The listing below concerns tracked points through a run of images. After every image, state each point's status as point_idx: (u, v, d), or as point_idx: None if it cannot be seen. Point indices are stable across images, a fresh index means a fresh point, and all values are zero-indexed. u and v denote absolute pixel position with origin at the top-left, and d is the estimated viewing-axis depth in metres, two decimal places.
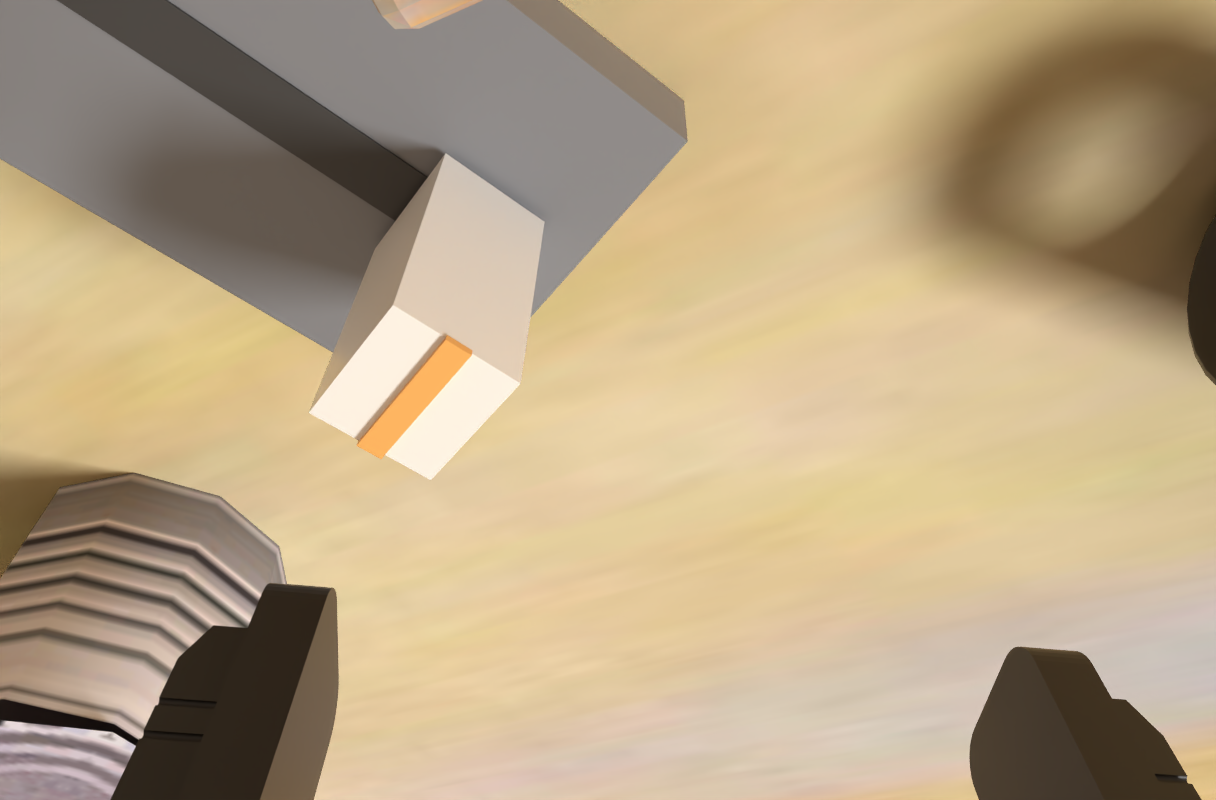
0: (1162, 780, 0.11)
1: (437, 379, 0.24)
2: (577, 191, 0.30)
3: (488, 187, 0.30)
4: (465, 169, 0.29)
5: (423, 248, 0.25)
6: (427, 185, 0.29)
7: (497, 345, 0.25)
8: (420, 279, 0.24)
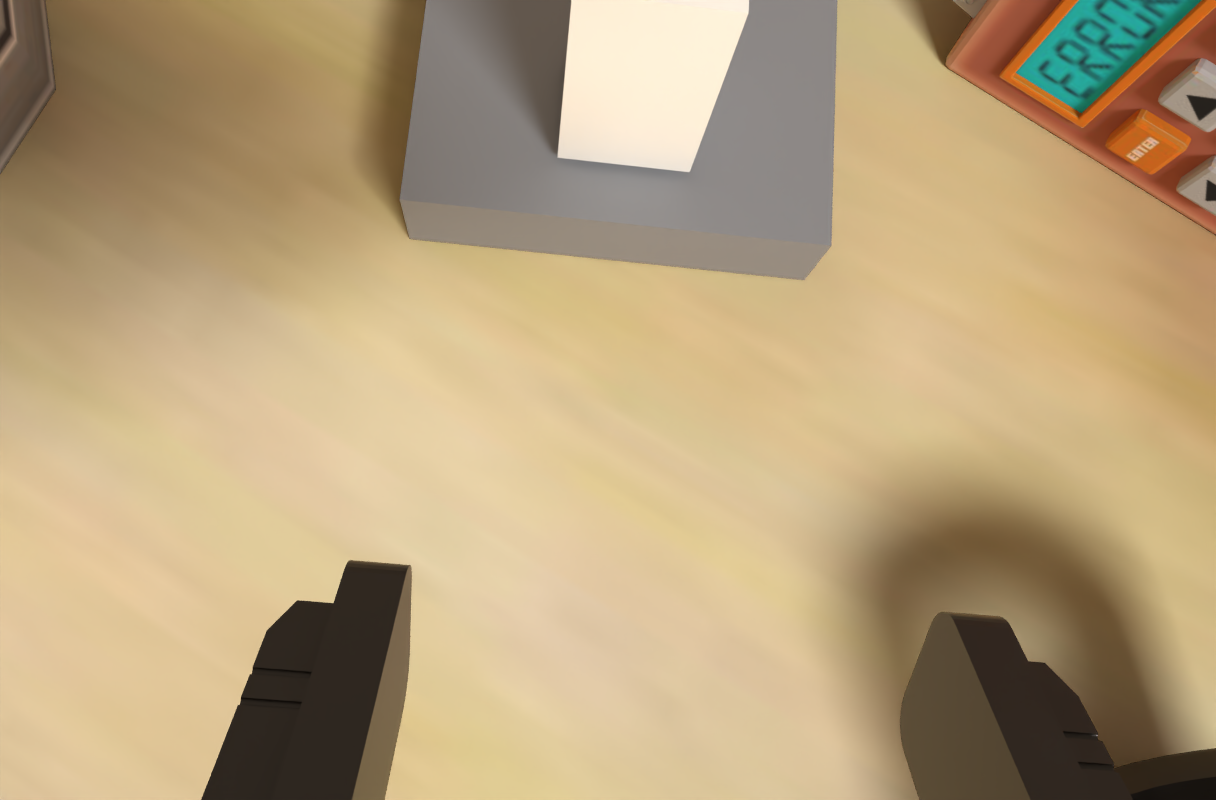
0: (1074, 738, 0.11)
1: None
2: (728, 188, 0.31)
3: None
4: None
5: None
6: None
7: None
8: None
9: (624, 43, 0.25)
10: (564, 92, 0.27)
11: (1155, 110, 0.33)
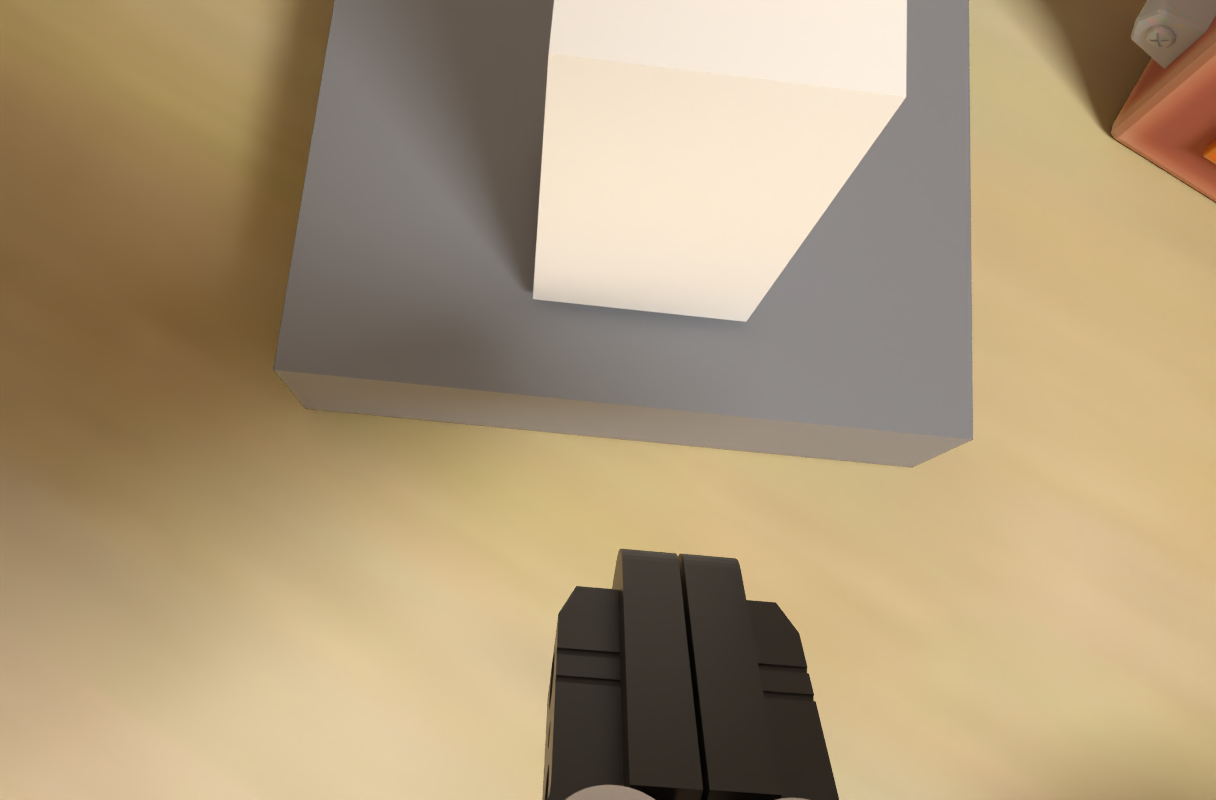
0: (783, 670, 0.12)
1: None
2: (807, 346, 0.19)
3: None
4: None
5: None
6: None
7: None
8: None
9: (650, 143, 0.13)
10: (540, 215, 0.15)
11: None
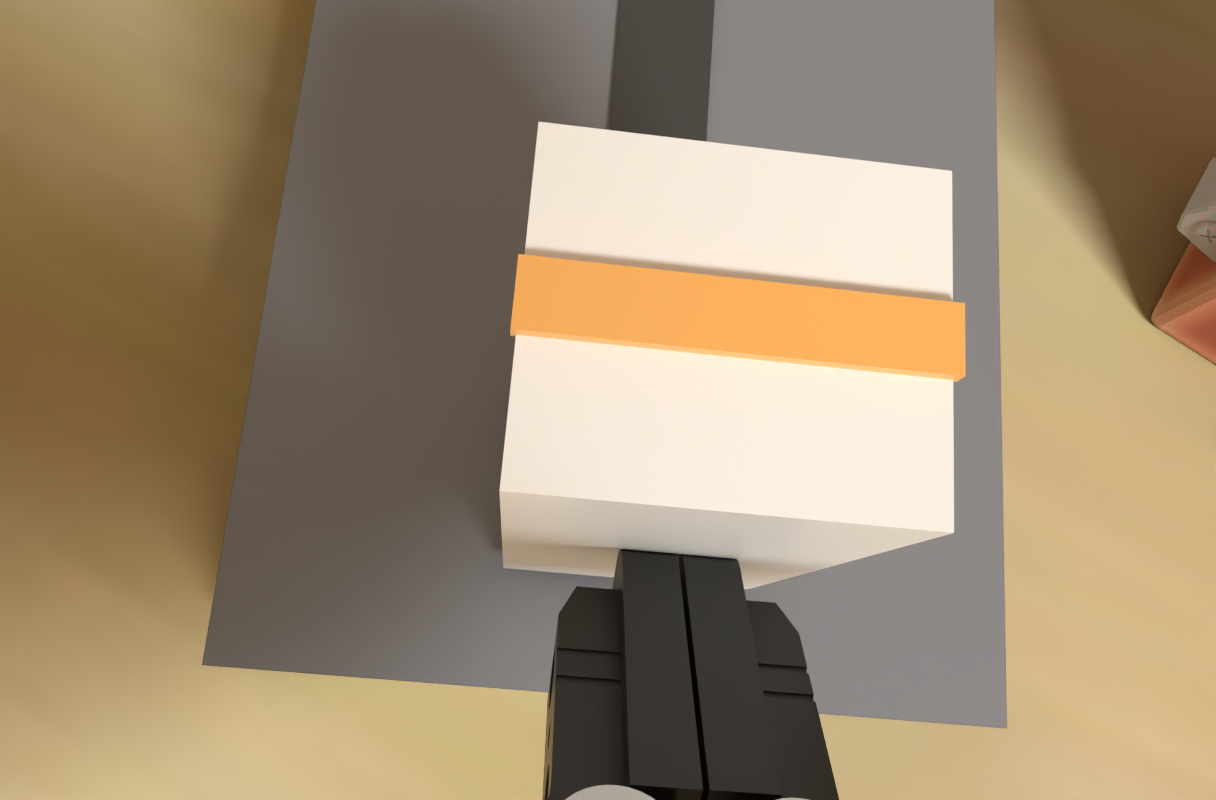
0: (783, 671, 0.12)
1: (848, 338, 0.09)
2: (817, 619, 0.17)
3: None
4: None
5: None
6: None
7: None
8: None
9: (632, 529, 0.10)
10: (504, 543, 0.13)
11: None
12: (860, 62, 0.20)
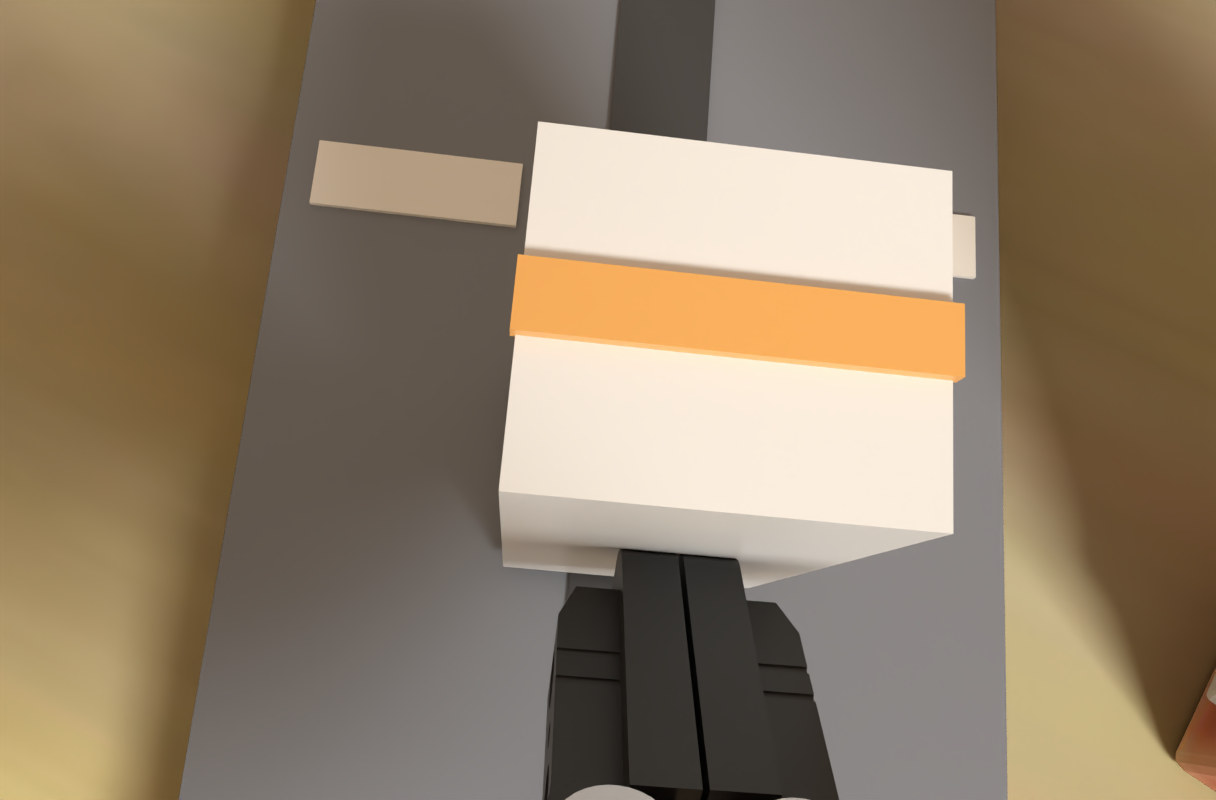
0: (783, 671, 0.12)
1: (847, 339, 0.09)
2: None
3: None
4: None
5: None
6: None
7: None
8: None
9: (631, 528, 0.10)
10: (504, 542, 0.13)
11: None
12: None
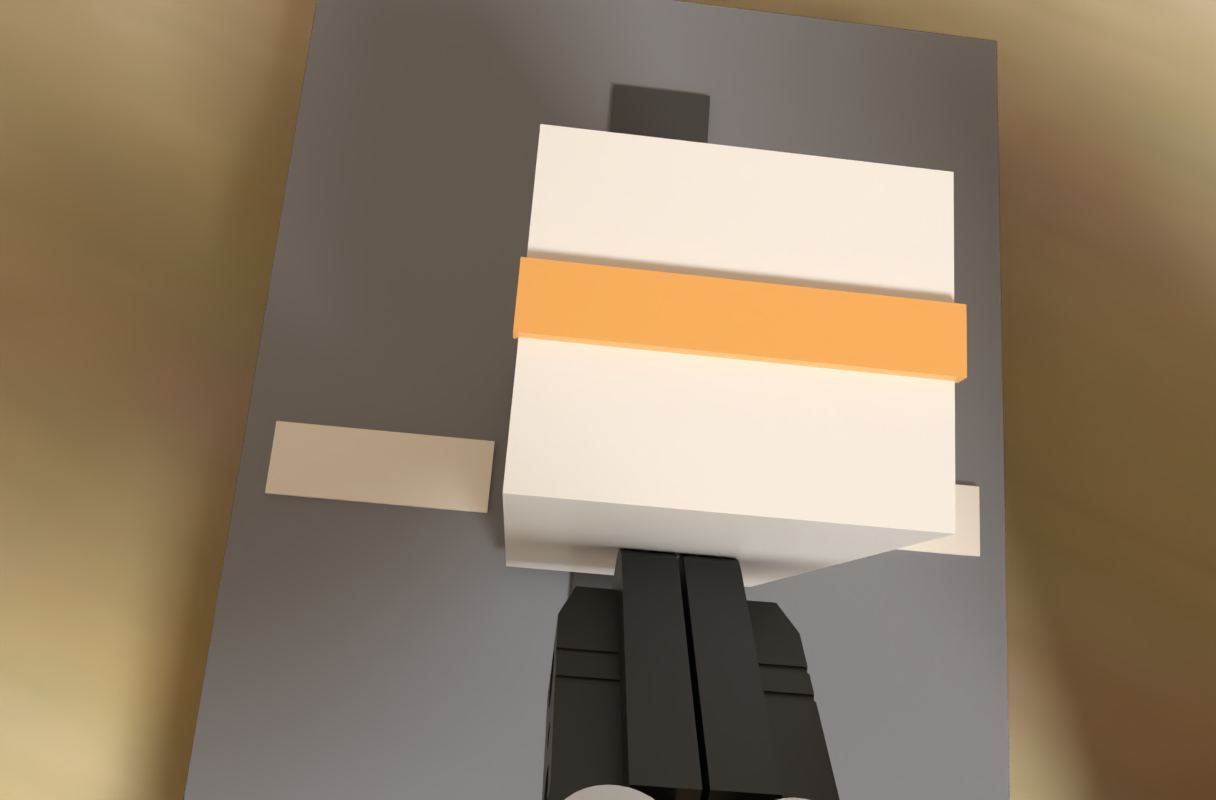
0: (784, 671, 0.12)
1: (849, 340, 0.09)
2: None
3: None
4: None
5: None
6: None
7: None
8: None
9: (635, 530, 0.11)
10: (507, 542, 0.13)
11: None
12: None
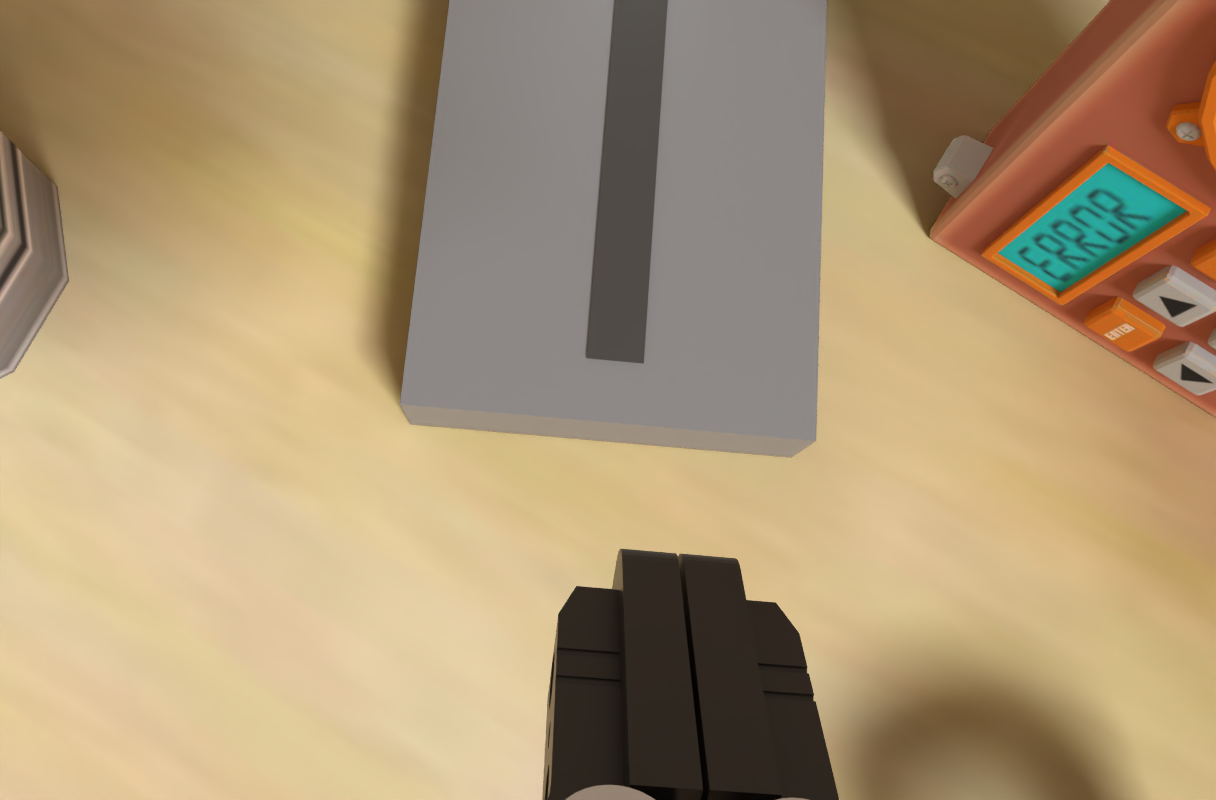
0: (783, 670, 0.12)
1: None
2: (716, 385, 0.32)
3: None
4: None
5: None
6: None
7: None
8: None
9: None
10: None
11: (1130, 299, 0.34)
12: (747, 87, 0.35)
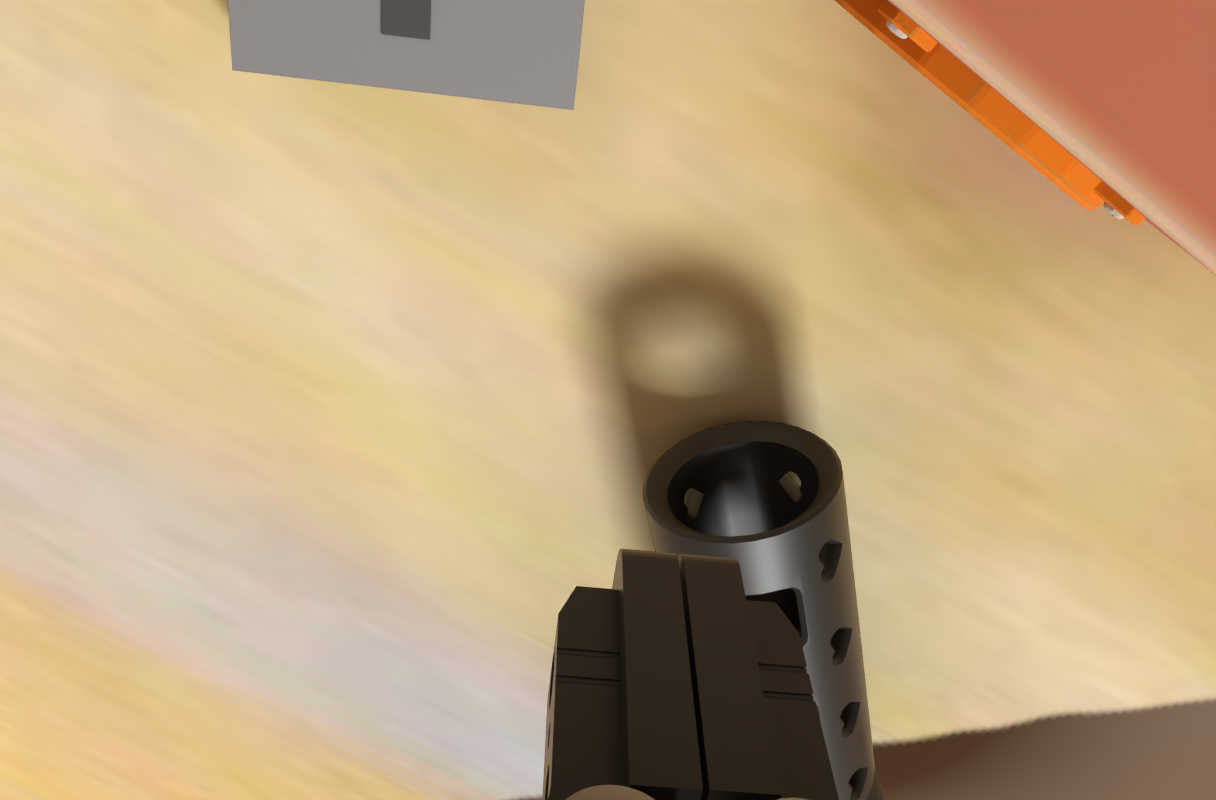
0: (783, 671, 0.12)
1: None
2: (492, 60, 0.39)
3: None
4: None
5: None
6: None
7: None
8: None
9: None
10: None
11: None
12: None
